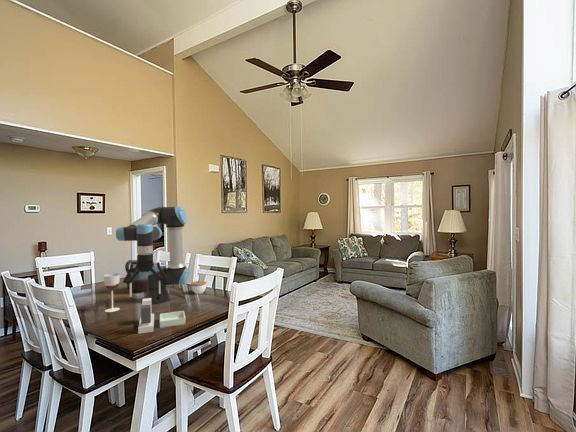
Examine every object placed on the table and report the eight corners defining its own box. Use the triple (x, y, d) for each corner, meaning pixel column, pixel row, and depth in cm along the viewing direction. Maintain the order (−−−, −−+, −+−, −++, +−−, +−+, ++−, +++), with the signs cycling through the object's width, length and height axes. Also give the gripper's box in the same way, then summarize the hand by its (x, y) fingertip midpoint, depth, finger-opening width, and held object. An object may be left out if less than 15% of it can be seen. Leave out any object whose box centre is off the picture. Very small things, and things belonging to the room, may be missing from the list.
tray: (159, 328, 160) (159, 321, 160) (159, 319, 172) (159, 313, 172) (185, 324, 165) (185, 318, 165) (184, 316, 177) (183, 310, 177)
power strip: (141, 316, 177) (141, 309, 177) (154, 315, 179) (154, 308, 179) (138, 333, 153) (138, 325, 153) (153, 331, 155) (153, 323, 155)
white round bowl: (193, 291, 232) (193, 279, 232) (207, 290, 233) (207, 278, 233) (189, 295, 221) (189, 282, 221) (204, 294, 222) (204, 282, 222)
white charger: (143, 315, 171) (142, 298, 170) (151, 314, 172) (151, 297, 172) (142, 318, 166) (142, 301, 166) (151, 317, 168) (151, 300, 168)
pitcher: (161, 289, 236) (160, 257, 236) (134, 296, 218) (133, 262, 217) (145, 286, 247) (145, 255, 247) (118, 292, 229) (118, 259, 228)
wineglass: (103, 313, 183) (103, 277, 183) (104, 308, 192) (104, 274, 191) (120, 310, 187) (119, 275, 187) (120, 306, 196) (120, 272, 195)
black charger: (141, 323, 159) (141, 305, 158) (150, 322, 160) (150, 304, 160) (141, 326, 154) (140, 308, 154) (150, 325, 156) (150, 307, 156)
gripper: (116, 256, 148) (117, 299, 148) (171, 253, 158) (171, 293, 158) (118, 254, 155) (119, 295, 155) (170, 251, 165) (171, 290, 165)
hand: (145, 294), depth 157 cm, fingers open, 13 cm apart
